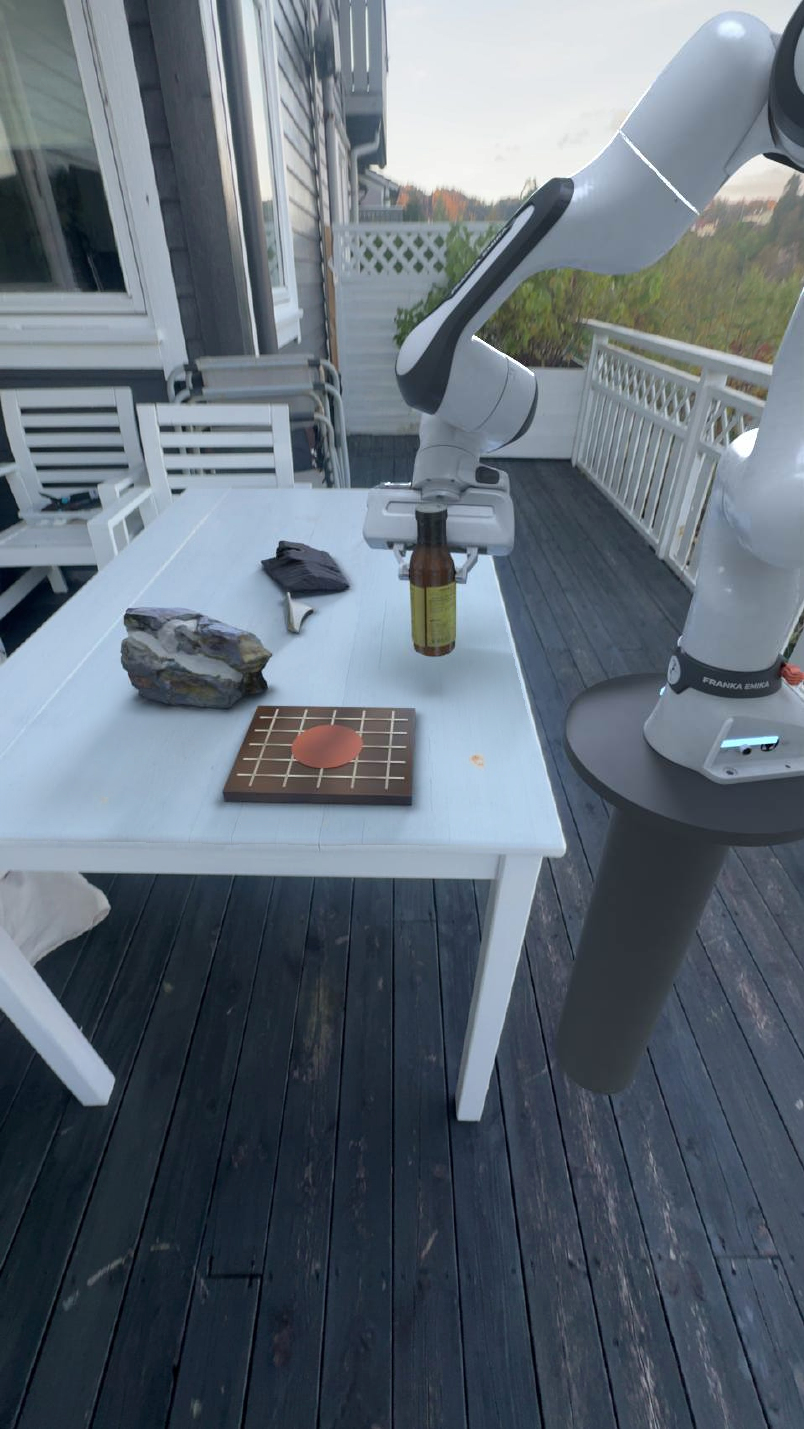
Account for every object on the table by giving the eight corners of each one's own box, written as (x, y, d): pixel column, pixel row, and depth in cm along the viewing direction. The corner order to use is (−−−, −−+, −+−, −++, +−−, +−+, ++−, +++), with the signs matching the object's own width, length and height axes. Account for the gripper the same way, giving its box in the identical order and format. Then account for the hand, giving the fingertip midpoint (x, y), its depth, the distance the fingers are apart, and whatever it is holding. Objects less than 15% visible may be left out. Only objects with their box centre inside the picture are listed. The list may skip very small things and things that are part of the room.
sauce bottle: (461, 642, 90) (468, 503, 79) (446, 662, 85) (451, 517, 74) (419, 634, 92) (420, 497, 81) (402, 653, 87) (400, 511, 76)
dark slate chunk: (277, 602, 118) (274, 579, 116) (259, 563, 136) (256, 541, 133) (355, 591, 123) (353, 568, 120) (328, 554, 140) (326, 533, 137)
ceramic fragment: (283, 601, 119) (281, 582, 117) (311, 599, 120) (309, 580, 117) (287, 636, 108) (284, 616, 106) (317, 633, 109) (315, 613, 106)
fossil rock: (274, 705, 96) (278, 624, 87) (247, 744, 89) (249, 661, 79) (152, 667, 98) (144, 583, 88) (117, 703, 91) (103, 616, 81)
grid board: (415, 716, 87) (415, 707, 86) (411, 805, 72) (411, 795, 71) (259, 714, 88) (257, 704, 87) (224, 801, 73) (221, 790, 72)
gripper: (365, 469, 83) (350, 566, 81) (520, 474, 80) (509, 575, 78) (374, 494, 89) (361, 585, 87) (519, 499, 86) (509, 594, 84)
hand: (432, 580), depth 82 cm, fingers closed on sauce bottle, 6 cm apart
